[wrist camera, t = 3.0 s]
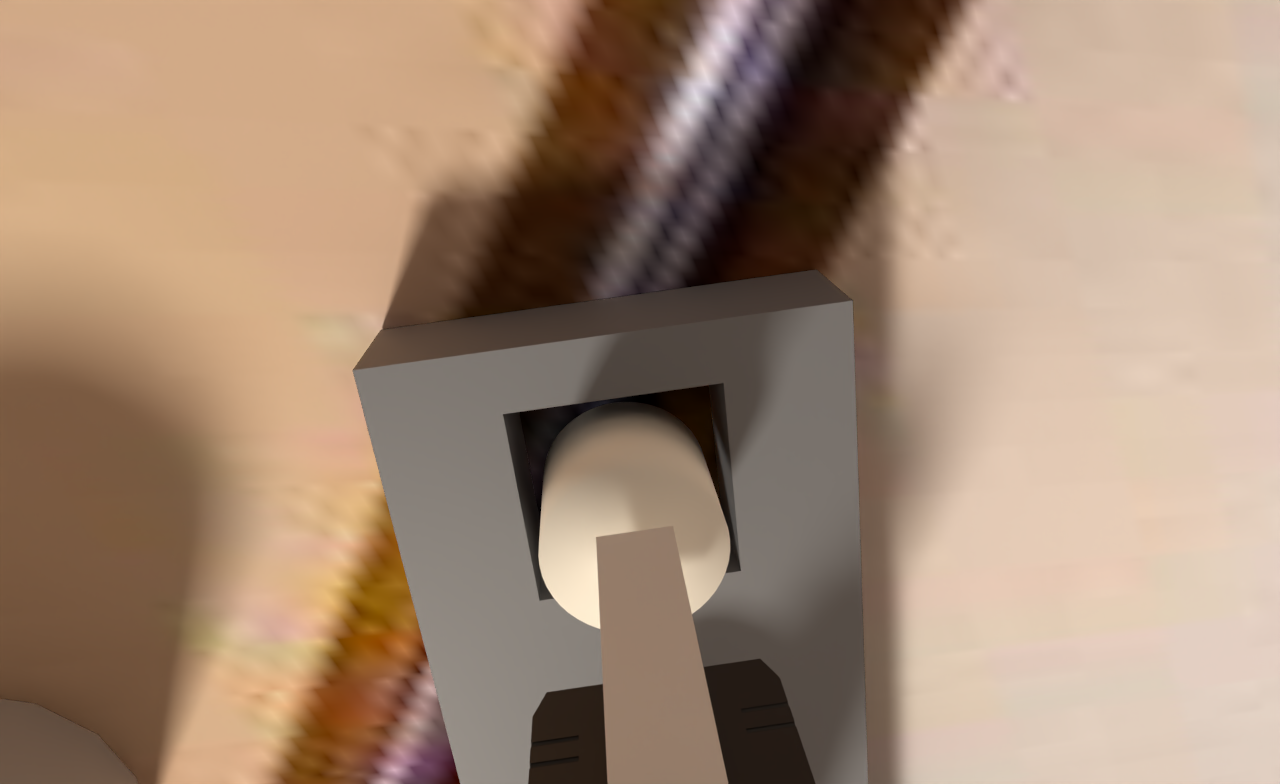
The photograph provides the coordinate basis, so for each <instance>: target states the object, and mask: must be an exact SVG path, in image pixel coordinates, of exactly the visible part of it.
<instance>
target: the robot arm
mask: <svg viewBox="0 0 1280 784" xmlns="http://www.w3.org/2000/svg"><path fill="white" fill-rule="evenodd" d="M596 547H597V569H598V590H599V611H600V633H601V654H602V675H603V684H599V685H592V686H585V687H579V688H572V689H565V690H559V691H552V692H546V694H545V696H544V698H543V699H542V701H541V703H540V705H539V706H538V708H537V710H536V711H535V713H534V715H533V717H532V732H531V748H530V769H529V780H528V784H816V783H815V780H814V777H813V774H812V772H811V769H810V766H809V763H808V760H807V757H806V754H805V751H804V748H803V745H802V742H801V739H800V736H799V733H798V730H797V727H796V726H795V721H794V718H793V715H792V712H791V709H790V706H789V705H788V700H787V697H786V694H785V691H784V688H783V685H782V682H781V679H780V677H779V676H778V675H777V674H776V673H775V672H774V671H773V670H772V669H771V668H770V667H768V666H767V665H766V664H765V663H764V662H763V661H762V660H761V659H754V660H747V661H740V662H733V663H727V664H720V665H713V666H706V667H703V663H702V659H701V654H700V649H699V645H698V640H697V635H696V631H695V626H694V621H693V617H692V612H691V607H690V603H689V598H688V594H687V589H686V584H685V580H684V575H683V570H682V566H681V561H680V556H679V552H678V547H677V542H676V538H675V533H674V529H673V526H668V527H661V528H654V529H647V530H640V531H633V532H627V533H620V534H613V535H606V536H599V537H596Z"/></svg>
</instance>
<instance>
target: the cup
mask: <svg viewBox="0 0 1280 784" xmlns="http://www.w3.org/2000/svg"><path fill="white" fill-rule="evenodd" d="M0 784H138V781H137V778H136V777H135V775H134V774H133V773H132V772H131V771H130V770H129V769H128V768H127V767H126V766H125V764H124V763H123V762H122V761H121V760H120V759H119V758H118V757H117V756H116V754H115V753H114V752H113V751H112V750H111V749H110V748H109V747H108V746H107V744H106V743H105V742H104V741H103V740H102V739H101V738H100V737H99V736H98V734H96V733H94V732H92V731H90V730H88V729H86V728H84V727H82V726H80V725H78V724H76V723H74V722H72V721H70V720H68V719H66V718H64V717H62V716H60V715H58V714H56V713H54V712H52V711H50V710H48V709H46V708H44V707H42V706H40V705H38V704H35V703H28V702H21V701H14V700H7V699H0Z"/></svg>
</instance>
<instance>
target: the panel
mask: <svg viewBox="0 0 1280 784" xmlns="http://www.w3.org/2000/svg"><path fill="white" fill-rule="evenodd" d="M353 374H354V377H355V381H356V385H357V389H358V393H359V397H360V400H361V404H362V408H363V412H364V416H365V420H366V423H367V427H368V431H369V435H370V439H371V443H372V446H373V450H374V454H375V458H376V462H377V466H378V469H379V473H380V477H381V481H382V485H383V489H384V492H385V496H386V500H387V504H388V508H389V512H390V516H391V519H392V523H393V527H394V531H395V535H396V539H397V542H398V546H399V550H400V554H401V558H402V562H403V565H404V569H405V573H406V577H407V581H408V585H409V588H410V592H411V596H412V600H413V604H414V608H415V611H416V615H417V619H418V623H419V627H420V631H421V634H422V638H423V642H424V646H425V650H426V654H427V657H428V661H429V665H430V669H431V673H432V677H433V680H434V684H435V688H436V692H437V696H438V700H439V703H440V707H441V711H442V715H443V719H444V723H445V727H446V730H447V734H448V738H449V742H450V746H451V750H452V753H453V757H454V761H455V765H456V769H457V773H458V776H459V780H460V784H528V780H529V769H530V748H531V732H532V717H533V715H534V713H535V711H536V710H537V708H538V706H539V705H540V703H541V701H542V699H543V698H544V696H545V694H546V692H552V691H559V690H565V689H572V688H579V687H585V686H592V685H599V684H603V675H602V654H601V633H600V629H599V628H596V627H593V626H591V625H588V624H586V623H584V622H582V621H580V620H578V619H577V618H575V617H574V616H572V615H571V614H569V613H568V612H567V611H566V610H565V609H564V608H562V607H561V606H560V605H559V604H558V602H557V601H556V600H555V599H554V598H553V596H552V595H551V593H550V592H549V590H548V588H547V587H546V584H545V582H544V580H543V577H542V574H541V570H540V566H539V557H538V554H539V535H540V518H539V513H538V508H537V502H536V497H535V492H534V486H533V481H532V476H531V470H530V465H529V460H528V455H527V449H526V444H525V439H524V433H523V428H522V423H521V417H520V412H522V411H529V410H536V409H543V408H550V407H557V406H564V405H571V404H578V403H585V402H593V401H600V400H607V399H614V398H621V397H628V396H635V395H642V394H649V393H656V392H663V391H670V390H677V389H684V388H692V387H699V386H706V385H709V393H710V403H711V413H712V423H713V434H714V444H715V454H716V464H717V474H718V484H719V494H720V504H721V509H722V512H723V514H724V517H725V520H726V523H727V526H728V530H729V536H730V556H729V562H728V566H727V569H726V572H725V575H724V577H723V579H722V581H721V583H720V585H719V586H718V588H717V590H716V591H715V592H714V594H713V595H712V596H711V597H710V599H709V600H708V601H707V602H706V603H705V604H704V605H703V606H702V607H701V608H699V609H698V610H697V611H696V612H694V613H693V614H692V617H693V621H694V626H695V631H696V635H697V640H698V645H699V649H700V654H701V659H702V663H703V667H706V666H713V665H720V664H727V663H733V662H740V661H747V660H754V659H761V660H762V661H763V662H764V663H765V664H766V665H767V666H768V667H770V668H771V669H772V670H773V671H774V672H775V673H776V674H777V675H778V676H779V677H780V679H781V682H782V685H783V688H784V691H785V694H786V697H787V700H788V705H789V706H790V709H791V712H792V715H793V718H794V721H795V726H796V727H797V730H798V733H799V736H800V739H801V742H802V745H803V748H804V751H805V754H806V757H807V760H808V763H809V766H810V769H811V772H812V774H813V777H814V780H815V783H816V784H868V764H867V732H866V701H865V670H864V638H863V607H862V576H861V544H860V513H859V482H858V450H857V419H856V388H855V356H854V325H853V300H851V299H850V298H849V297H848V296H847V295H846V294H844V293H843V292H842V291H841V290H840V289H839V288H837V287H836V286H835V285H834V284H833V283H832V282H830V281H829V280H828V279H827V278H826V277H825V276H823V275H822V274H821V273H820V272H819V271H818V270H809V271H802V272H795V273H788V274H781V275H773V276H766V277H759V278H752V279H744V280H737V281H730V282H723V283H716V284H708V285H701V286H694V287H687V288H679V289H672V290H665V291H658V292H651V293H643V294H636V295H629V296H622V297H614V298H607V299H600V300H593V301H586V302H578V303H571V304H564V305H557V306H549V307H542V308H535V309H528V310H521V311H513V312H506V313H499V314H492V315H484V316H477V317H470V318H463V319H456V320H448V321H441V322H434V323H427V324H419V325H412V326H405V327H398V328H391V329H383V330H381V331H380V332H379V333H378V335H377V336H376V338H375V339H374V341H373V342H372V343H371V345H370V346H369V348H368V349H367V351H366V352H365V353H364V355H363V356H362V358H361V359H360V361H359V362H358V363H357V365H356V366H355V368H354V369H353Z"/></svg>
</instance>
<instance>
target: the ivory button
mask: <svg viewBox="0 0 1280 784" xmlns="http://www.w3.org/2000/svg"><path fill="white" fill-rule="evenodd" d="M668 526H673V529H674V533H675V538H676V542H677V547H678V552H679V556H680V561H681V566H682V570H683V575H684V580H685V584H686V589H687V594H688V598H689V603H690V607H691V612H692V614H693V613H694V612H696V611H697V610H698V609H699V608H701V607H702V606H703V605H704V604H705V603H706V602H707V601H708V600H709V599H710V597H711V596H712V595H713V594H714V592H715V591H716V590H717V588H718V586H719V585H720V583H721V581H722V579H723V577H724V575H725V572H726V569H727V566H728V562H729V556H730V536H729V530H728V526H727V523H726V520H725V517H724V514H723V512H722V509H721V506H720V503H719V500H718V497H717V494H716V491H715V488H714V485H713V482H712V479H711V476H710V473H709V470H708V467H707V464H706V461H705V458H704V455H703V452H702V449H701V446H700V444H699V442H698V440H697V438H696V437H695V436H694V434H693V433H692V431H691V430H690V429H689V428H688V427H687V426H686V425H685V424H684V423H683V422H682V421H681V420H680V419H678V418H677V417H676V416H674V415H673V414H671V413H669V412H668V411H666V410H663V409H661V408H659V407H656V406H653V405H649V404H645V403H639V402H614V403H609V404H604V405H601V406H598V407H595V408H593V409H590V410H588V411H586V412H584V413H582V414H581V415H579V416H578V417H576V418H575V419H573V420H572V421H571V422H570V423H569V424H567V425H566V426H565V427H564V428H563V430H562V431H561V432H560V433H559V434H558V436H557V437H556V439H555V440H554V441H553V443H552V445H551V447H550V449H549V451H548V454H547V457H546V460H545V466H544V474H543V489H542V504H541V520H540V535H539V554H538V557H539V566H540V570H541V574H542V577H543V580H544V582H545V584H546V587H547V588H548V590H549V592H550V593H551V595H552V596H553V598H554V599H555V600H556V601H557V602H558V604H559V605H560V606H561V607H562V608H564V609H565V610H566V611H567V612H568V613H569V614H571V615H572V616H574V617H575V618H577V619H578V620H580V621H582V622H584V623H586V624H588V625H591V626H593V627H596V628H599V629H600V611H599V590H598V569H597V547H596V537H599V536H606V535H613V534H620V533H627V532H633V531H640V530H647V529H654V528H661V527H668Z"/></svg>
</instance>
